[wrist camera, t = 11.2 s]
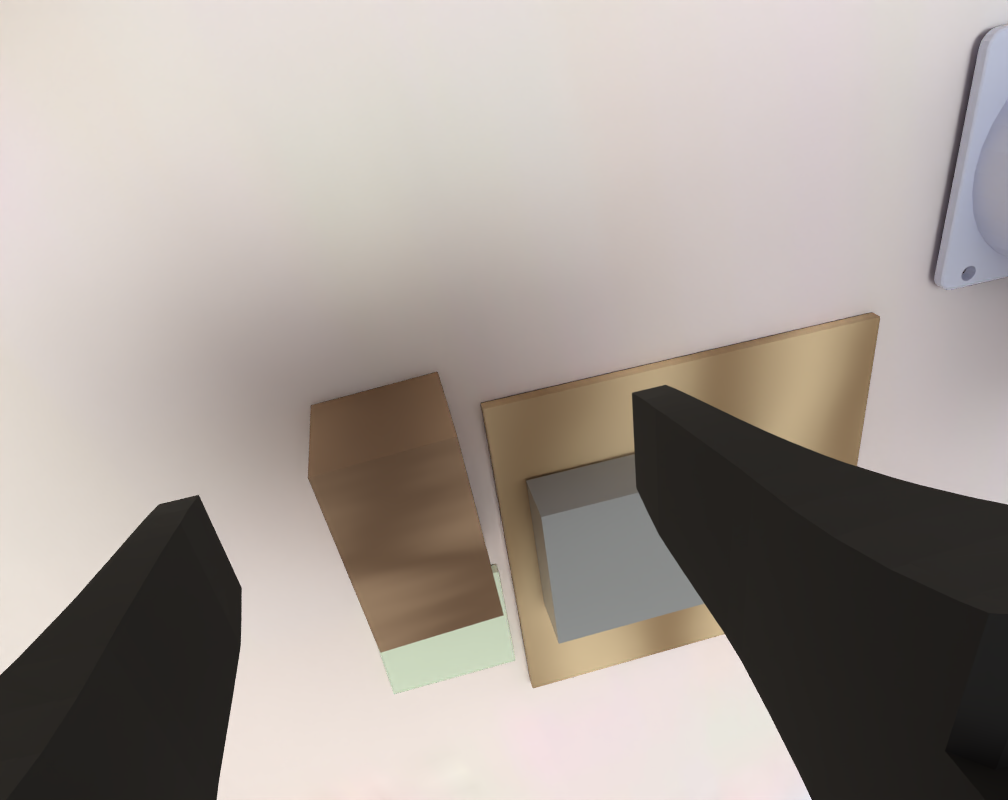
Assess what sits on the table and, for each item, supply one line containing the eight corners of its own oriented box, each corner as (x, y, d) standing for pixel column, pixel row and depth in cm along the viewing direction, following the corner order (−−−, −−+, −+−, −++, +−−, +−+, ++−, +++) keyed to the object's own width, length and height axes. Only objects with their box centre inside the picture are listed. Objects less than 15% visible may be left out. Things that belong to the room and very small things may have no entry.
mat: (872, 312, 24) (880, 316, 24) (829, 596, 31) (835, 602, 31) (480, 403, 23) (483, 409, 22) (530, 680, 30) (532, 688, 29)
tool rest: (496, 564, 26) (498, 571, 26) (513, 653, 29) (515, 660, 28) (363, 598, 26) (364, 607, 25) (393, 685, 28) (393, 694, 28)
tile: (773, 458, 23) (763, 587, 26) (741, 425, 25) (734, 549, 28) (541, 517, 22) (558, 643, 25) (524, 478, 24) (543, 600, 27)
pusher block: (480, 534, 26) (436, 369, 22) (504, 615, 22) (457, 436, 18) (373, 564, 25) (310, 402, 21) (380, 652, 22) (308, 477, 18)
